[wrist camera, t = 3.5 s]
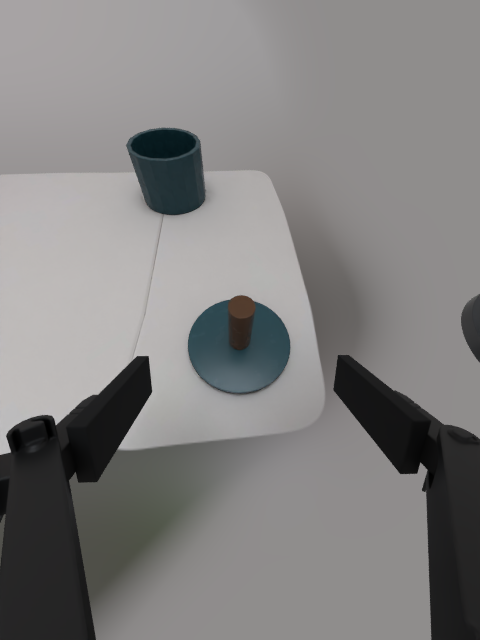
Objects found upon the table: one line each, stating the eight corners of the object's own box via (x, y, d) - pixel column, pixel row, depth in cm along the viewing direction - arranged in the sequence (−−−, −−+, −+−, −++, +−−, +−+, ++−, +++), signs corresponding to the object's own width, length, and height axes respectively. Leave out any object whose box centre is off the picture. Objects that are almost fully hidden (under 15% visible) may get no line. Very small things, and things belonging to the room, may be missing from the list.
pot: (207, 181, 50) (202, 128, 42) (203, 215, 44) (196, 161, 36) (151, 179, 50) (135, 126, 41) (139, 214, 43) (118, 159, 35)
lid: (282, 303, 34) (298, 259, 26) (294, 394, 27) (320, 371, 19) (194, 302, 33) (182, 257, 25) (183, 395, 26) (163, 372, 18)
